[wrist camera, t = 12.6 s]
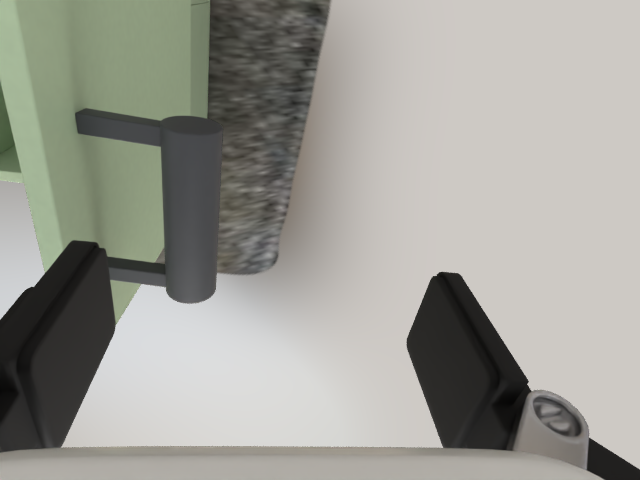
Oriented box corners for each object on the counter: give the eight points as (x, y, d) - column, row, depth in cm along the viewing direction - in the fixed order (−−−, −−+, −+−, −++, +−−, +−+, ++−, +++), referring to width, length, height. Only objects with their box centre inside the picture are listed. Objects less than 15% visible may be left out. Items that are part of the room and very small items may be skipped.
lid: (66, 370, 16) (201, 385, 17) (-27, -24, 9) (210, 21, 10) (179, 203, 29) (252, 214, 30) (176, -11, 22) (272, 7, 23)
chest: (39, 133, 36) (-34, 177, 27) (3, -51, 29) (-110, -68, 20) (206, 155, 38) (186, 201, 30) (210, -10, 31) (185, -10, 23)
